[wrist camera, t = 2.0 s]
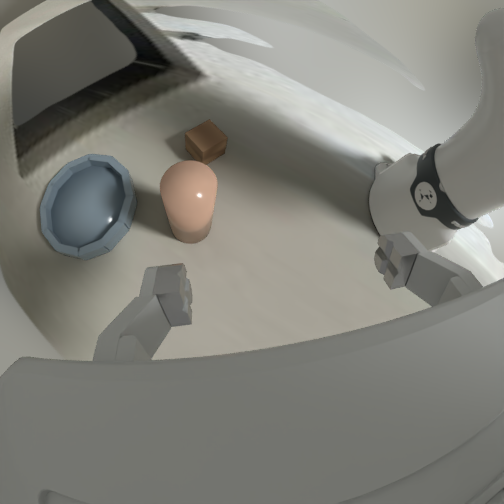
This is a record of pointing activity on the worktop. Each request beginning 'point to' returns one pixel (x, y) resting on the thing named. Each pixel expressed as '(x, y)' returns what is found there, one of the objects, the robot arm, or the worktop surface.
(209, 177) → the peach tapered cylinder
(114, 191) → the dish
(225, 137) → the walnut block
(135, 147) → the worktop surface
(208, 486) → the robot arm
